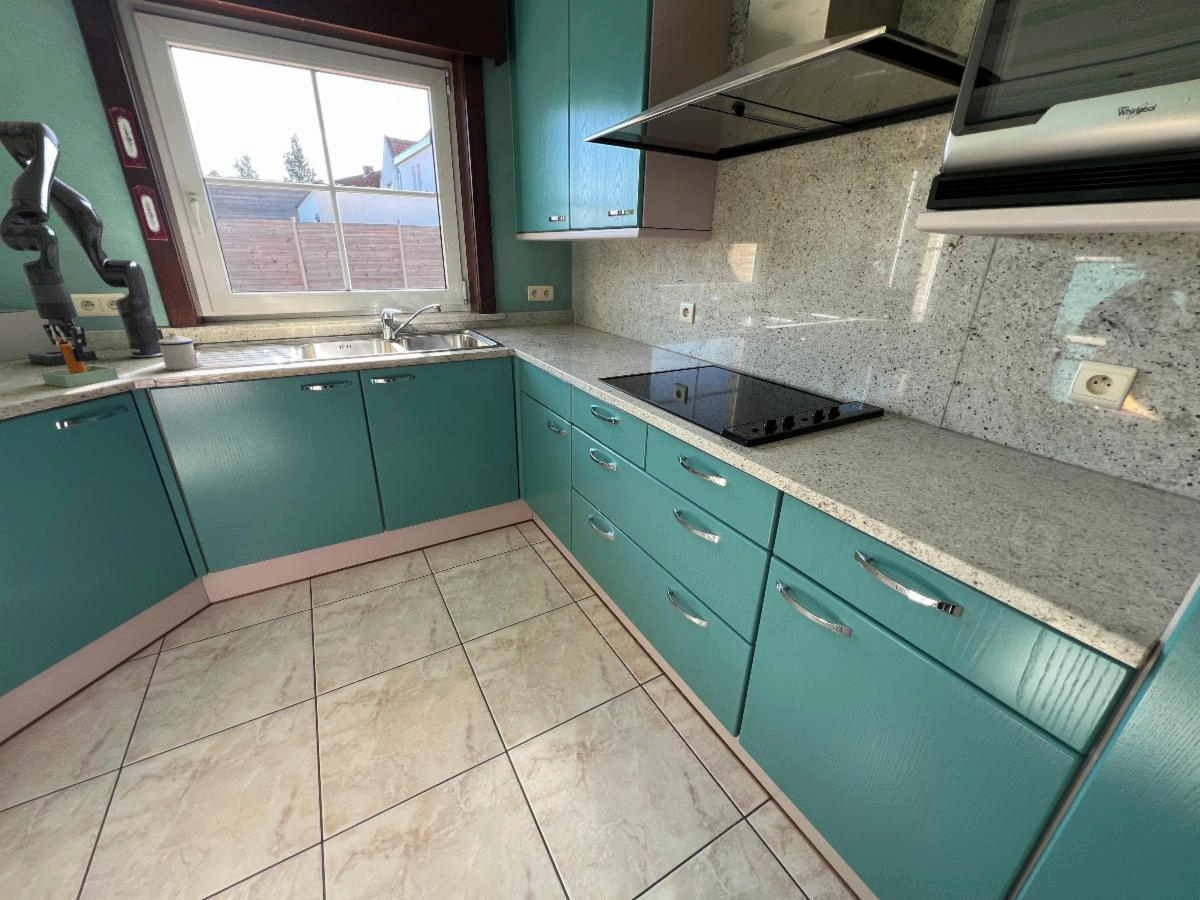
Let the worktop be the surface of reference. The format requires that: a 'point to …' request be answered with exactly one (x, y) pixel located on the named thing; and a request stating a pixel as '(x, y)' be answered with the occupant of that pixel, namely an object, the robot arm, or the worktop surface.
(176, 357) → the teacup with lid
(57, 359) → the drain plate
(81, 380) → the tray
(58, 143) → the robot arm
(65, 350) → the plug
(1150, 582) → the worktop surface
